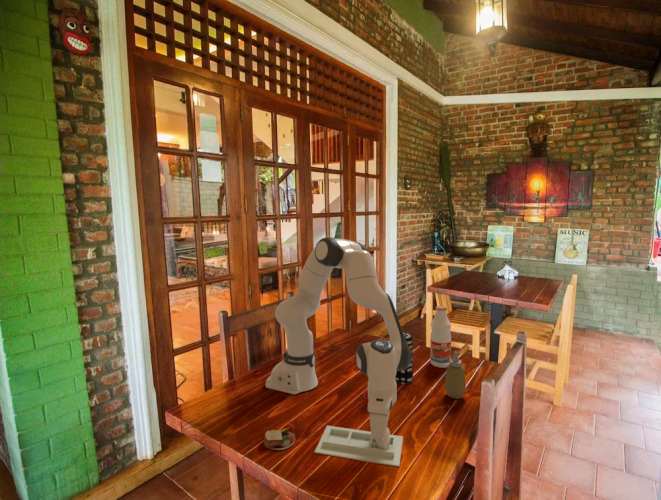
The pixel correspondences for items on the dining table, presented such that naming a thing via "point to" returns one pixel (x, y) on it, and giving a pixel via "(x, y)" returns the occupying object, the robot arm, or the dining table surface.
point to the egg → (385, 441)
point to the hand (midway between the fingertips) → (382, 435)
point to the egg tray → (358, 446)
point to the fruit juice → (440, 339)
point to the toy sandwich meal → (279, 439)
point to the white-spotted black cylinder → (407, 374)
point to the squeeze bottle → (455, 378)
